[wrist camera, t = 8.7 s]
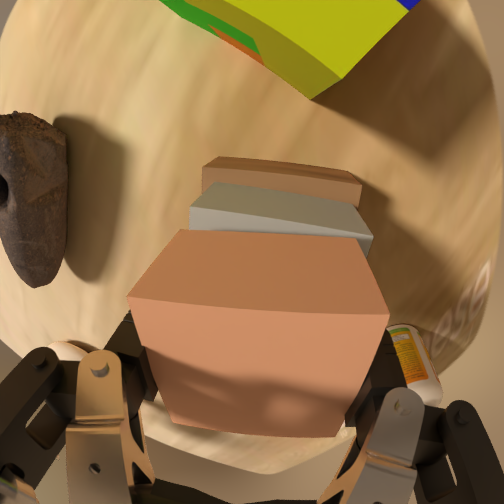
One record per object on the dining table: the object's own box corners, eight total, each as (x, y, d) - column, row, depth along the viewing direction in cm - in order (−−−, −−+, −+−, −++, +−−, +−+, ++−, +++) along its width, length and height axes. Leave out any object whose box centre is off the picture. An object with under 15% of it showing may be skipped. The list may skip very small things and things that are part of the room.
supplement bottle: (353, 356, 23) (367, 451, 15) (388, 314, 21) (422, 414, 12) (395, 368, 24) (416, 452, 15) (429, 330, 21) (466, 417, 13)
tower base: (219, 155, 17) (202, 167, 14) (346, 170, 17) (362, 185, 13) (216, 266, 21) (202, 298, 17) (325, 278, 20) (331, 313, 17)
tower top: (214, 181, 14) (189, 206, 10) (352, 204, 14) (373, 236, 10) (207, 295, 17) (189, 340, 14) (320, 313, 17) (326, 361, 13)
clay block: (180, 229, 10) (126, 296, 6) (355, 238, 9) (390, 314, 6) (197, 350, 12) (172, 422, 9) (328, 360, 12) (334, 437, 8)
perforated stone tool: (82, 275, 23) (38, 321, 17) (44, 259, 23) (1, 297, 17) (86, 107, 16) (16, 117, 10) (43, 105, 16) (-22, 117, 10)
